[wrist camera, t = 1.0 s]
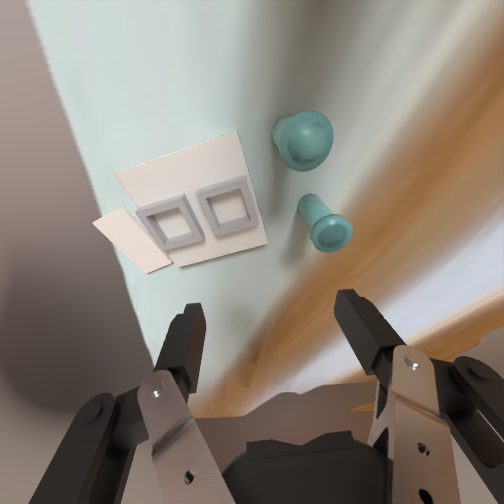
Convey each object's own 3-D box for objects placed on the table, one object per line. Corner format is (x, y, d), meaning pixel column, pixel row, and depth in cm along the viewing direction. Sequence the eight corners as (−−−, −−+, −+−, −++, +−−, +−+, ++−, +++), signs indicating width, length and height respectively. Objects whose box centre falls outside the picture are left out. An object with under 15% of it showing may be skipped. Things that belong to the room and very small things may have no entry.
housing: (121, 170, 27) (106, 177, 24) (237, 130, 25) (237, 133, 22) (180, 260, 37) (174, 274, 34) (266, 237, 35) (269, 249, 32)
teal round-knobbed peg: (292, 195, 31) (311, 225, 23) (322, 186, 30) (353, 213, 22) (296, 221, 34) (314, 256, 26) (324, 213, 33) (352, 246, 25)
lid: (95, 220, 31) (92, 223, 31) (124, 205, 30) (122, 207, 30) (147, 271, 38) (145, 273, 38) (173, 260, 37) (171, 263, 36)
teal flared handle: (263, 118, 25) (275, 121, 17) (300, 105, 24) (332, 102, 16) (271, 157, 28) (285, 177, 19) (305, 147, 27) (334, 162, 19)
